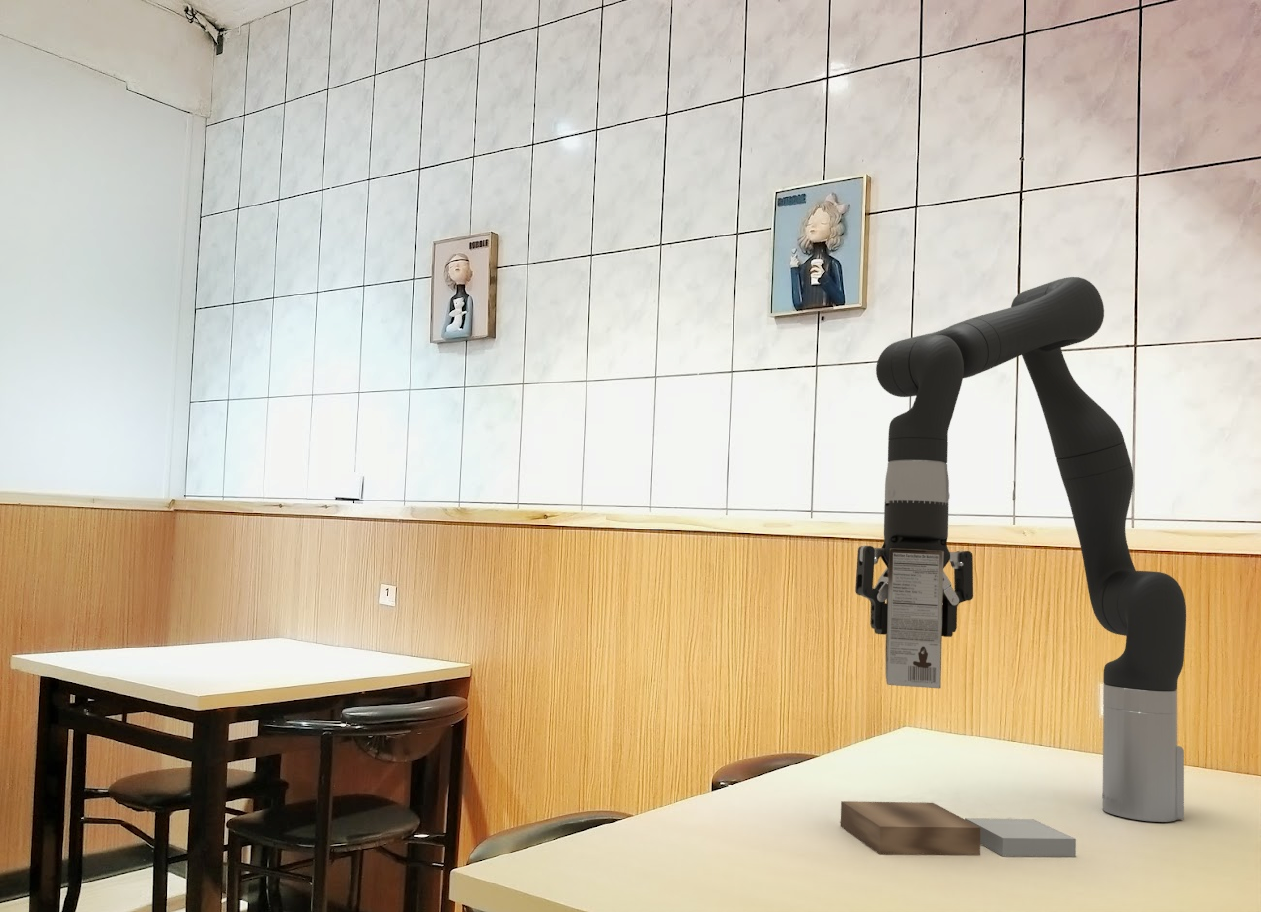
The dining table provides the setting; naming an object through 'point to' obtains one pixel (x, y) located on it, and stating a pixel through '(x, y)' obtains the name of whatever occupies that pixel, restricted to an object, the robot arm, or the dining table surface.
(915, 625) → the coffee box
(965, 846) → the walnut base
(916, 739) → the dining table surface
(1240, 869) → the dining table surface
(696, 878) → the dining table surface
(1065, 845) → the grey coaster
